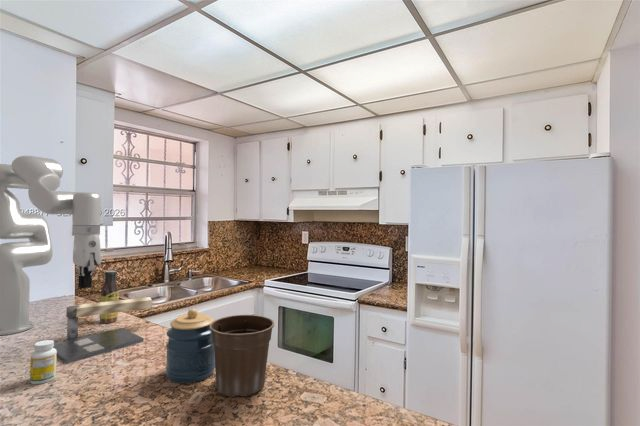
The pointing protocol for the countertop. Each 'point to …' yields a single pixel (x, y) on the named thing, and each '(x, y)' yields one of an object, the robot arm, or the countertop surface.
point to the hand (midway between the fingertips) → (85, 287)
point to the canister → (190, 348)
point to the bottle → (109, 295)
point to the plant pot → (241, 353)
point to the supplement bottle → (43, 362)
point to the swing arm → (108, 307)
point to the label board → (92, 342)
